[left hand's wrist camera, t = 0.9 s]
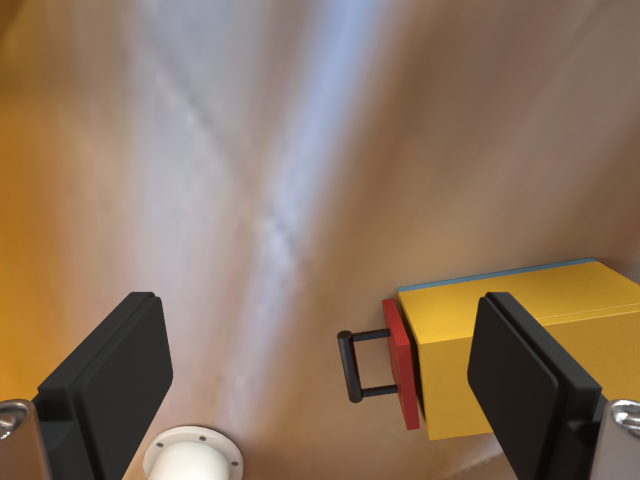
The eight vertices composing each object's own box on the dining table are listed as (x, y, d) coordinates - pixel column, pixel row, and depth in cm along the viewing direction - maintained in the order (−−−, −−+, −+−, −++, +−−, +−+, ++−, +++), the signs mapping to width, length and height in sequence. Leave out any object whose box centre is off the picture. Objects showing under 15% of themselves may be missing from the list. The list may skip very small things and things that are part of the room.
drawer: (347, 380, 44) (353, 437, 37) (334, 307, 41) (337, 354, 33) (563, 349, 43) (615, 402, 35) (567, 271, 39) (625, 311, 32)
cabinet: (406, 370, 45) (429, 441, 35) (396, 288, 41) (419, 343, 32) (585, 344, 43) (658, 411, 34) (591, 257, 40) (675, 305, 30)
